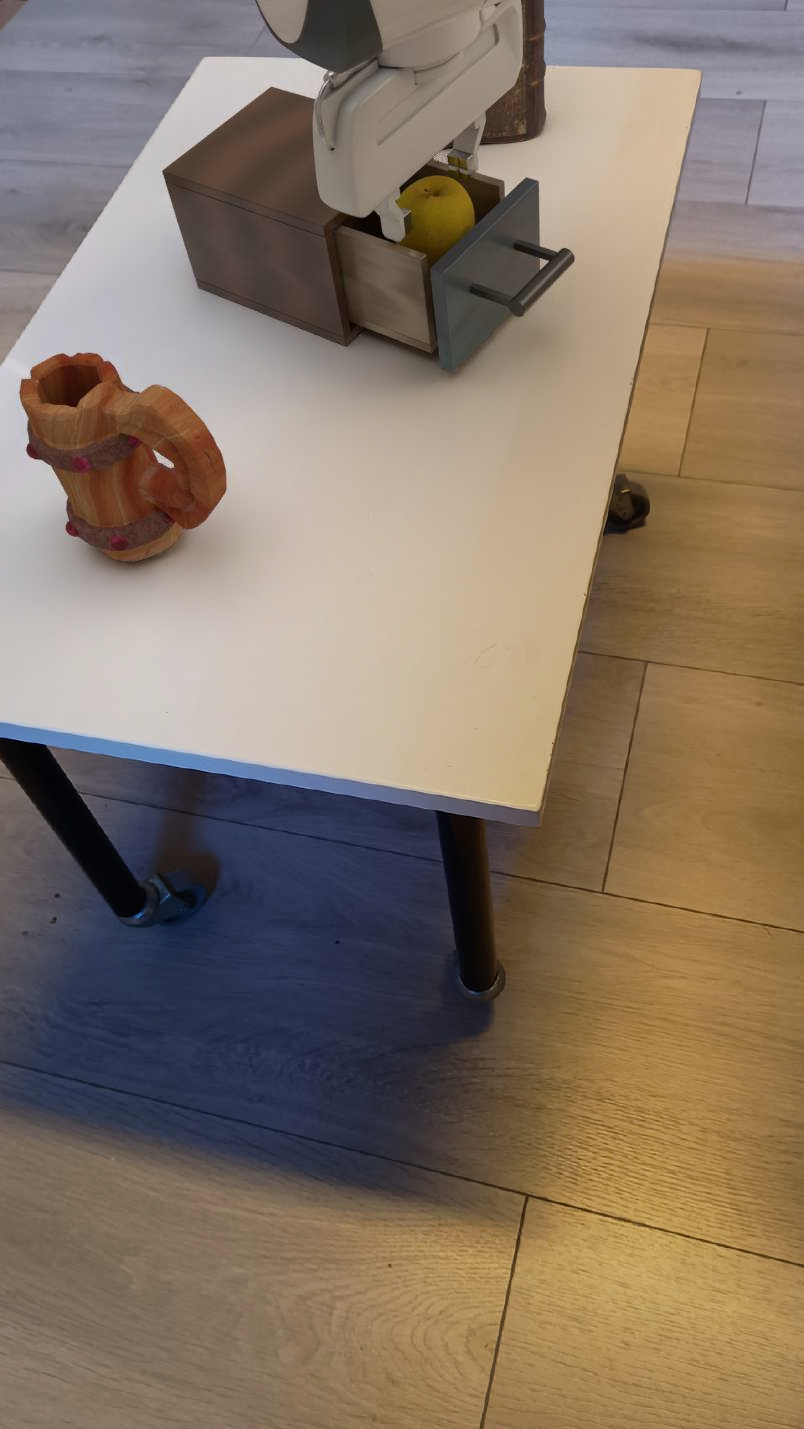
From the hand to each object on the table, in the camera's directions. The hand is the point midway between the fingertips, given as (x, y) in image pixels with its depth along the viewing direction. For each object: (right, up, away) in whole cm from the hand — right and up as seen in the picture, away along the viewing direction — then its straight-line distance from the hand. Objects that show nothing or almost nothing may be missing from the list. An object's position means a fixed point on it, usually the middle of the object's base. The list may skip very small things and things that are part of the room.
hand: (431, 204), depth 83 cm
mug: (-19, -26, -2) cm, 32 cm away
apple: (+1, -3, +5) cm, 6 cm away
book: (+3, +17, +23) cm, 29 cm away
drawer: (+1, -5, +7) cm, 9 cm away
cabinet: (-9, 0, +14) cm, 17 cm away
